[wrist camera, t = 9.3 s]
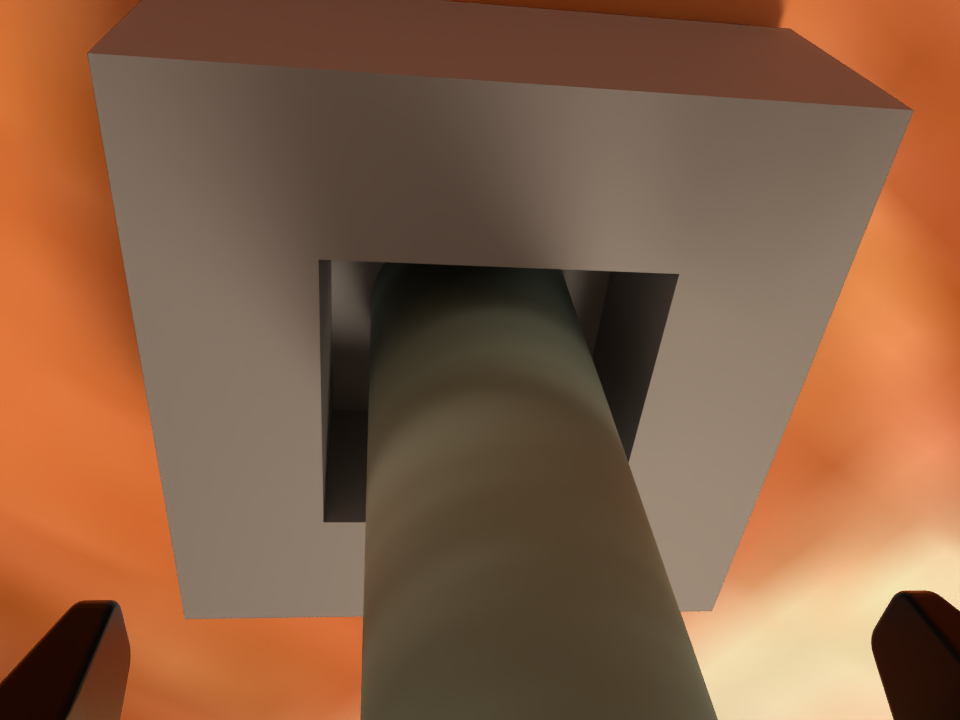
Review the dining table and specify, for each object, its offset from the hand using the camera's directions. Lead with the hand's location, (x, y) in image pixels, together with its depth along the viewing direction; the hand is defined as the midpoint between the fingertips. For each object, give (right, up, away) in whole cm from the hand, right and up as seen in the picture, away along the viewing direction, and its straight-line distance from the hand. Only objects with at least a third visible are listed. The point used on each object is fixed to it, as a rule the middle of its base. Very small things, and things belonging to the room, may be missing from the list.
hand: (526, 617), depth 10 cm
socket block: (-1, +5, +6) cm, 8 cm away
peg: (-1, +4, +6) cm, 7 cm away
